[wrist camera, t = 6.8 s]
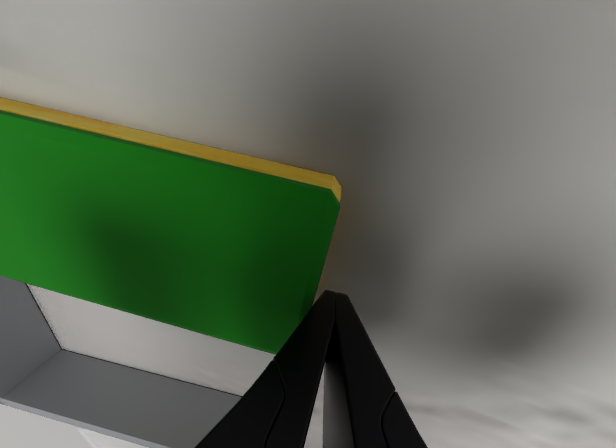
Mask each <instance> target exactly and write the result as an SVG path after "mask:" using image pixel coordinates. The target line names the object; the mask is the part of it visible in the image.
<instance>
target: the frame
mask: <svg viewBox="0 0 616 448" xmlns="http://www.w3.org/2000/svg"><path fill="white" fill-rule="evenodd" d="M241 398H242V397H239V396H235V395H232V394H228V393H224V392H220V391H217V390H213V389H209V388H205V387H201V386H198V385H194V384H190V383H186V382H182V381H179V380H175V379H171V378H167V377H163V376H160V375H156V374H152V373H148V372H144V371H141V370H137V369H133V368H129V367H125V366H122V365H118V364H114V363H110V362H106V361H103V360H99V359H95V358H91V357H88V356H84V355H80V354H76V353H72V352H69V351H65V350H61V348H60V346H59V344H58V343H57V341H56V339H55V337H54V335H53V334H52V332H51V330H50V328H49V326H48V324H47V323H46V321H45V319H44V317H43V315H42V313H41V312H40V310H39V308H38V306H37V304H36V303H35V301H34V299H33V297H32V295H31V293H30V292H29V290H28V288H27V286H26V284H25V283H23V282H20V281H16V280H13V279H9V278H6V277H2V276H0V404H3V405H7V406H10V407H13V408H17V409H20V410H23V411H27V412H30V413H34V414H37V415H41V416H44V417H47V418H51V419H54V420H57V421H61V422H65V423H68V424H71V425H74V426H78V427H81V428H85V429H88V430H91V431H95V432H98V433H102V434H105V435H108V436H112V437H115V438H119V439H122V440H125V441H129V442H132V443H136V444H139V445H142V446H146V447H149V448H194V447H195V446H196V445H197V444H198V443H199V442H200V441H201V440H202V439H203V438H204V437H205V436H206V435H207V434H208V433H209V432H210V431H211V429H212V428H213V427H214V426H215V425H216V424H217V423H218V422H219V421H220V420H221V419H222V418H223V417H224V416H225V415H226V414H227V413H228V412H229V411H230V410H231V408H232V407H233V406H234V405H235V404H236V403H237V402H238V401H239V400H240V399H241Z"/></svg>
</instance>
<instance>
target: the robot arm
mask: <svg viewBox="0 0 616 448" xmlns="http://www.w3.org/2000/svg"><path fill="white" fill-rule="evenodd" d="M323 367H324V407H323V448H428V447H427V446H426V444H425V442H424V441H423V439H422V437H421V436H420V434H419V432H418V430H417V429H416V427H415V425H414V423H413V421H412V419H411V418H410V416H409V414H408V412H407V410H406V408H405V406H404V404H403V402H402V401H401V399H400V397H399V395H398V393H397V392H395V387H394V385H393V383H392V381H391V379H390V377H389V375H388V373H387V371H386V369H385V368H384V366H383V364H382V362H381V360H380V358H379V356H378V354H377V352H376V350H375V348H374V346H373V344H372V342H371V340H370V338H369V336H368V334H367V332H366V330H365V329H364V327H363V325H362V323H361V321H360V319H359V317H358V315H357V313H356V311H355V309H354V307H353V305H352V303H351V301H350V299H349V297H348V296H347V295H346V294H342V293H335V292H333V291H329V290H325V291H324V292H323V293H322V294H321V296H320V297H319V298H318V300H317V301H316V302H315V304H314V305H313V306H312V308H311V309H310V310H309V312H308V313H307V314H306V316H305V317H304V318H303V320H302V321H301V322H300V324H299V325H298V326H297V328H296V329H295V330H294V332H293V333H292V334H291V336H290V337H289V338H288V340H287V341H286V342H285V344H284V345H283V346H282V348H281V349H280V350H279V352H278V353H277V354H276V356H275V357H274V359H273V360H272V361H271V362H270V363H269V365H268V366H267V367H266V369H265V370H264V371H263V373H262V374H261V375H260V376H259V378H258V379H257V380H256V381H255V383H254V384H253V385H252V386H251V388H250V389H249V390H248V391H247V392H246V393H245V394H244V395H243V396H242V398H241V399H240V400H239V401H238V402H237V403H236V404H235V405H234V406H233V407H232V408H231V410H230V411H229V412H228V413H227V414H226V415H225V416H224V417H223V418H222V419H221V420H220V421H219V422H218V423H217V424H216V425H215V426H214V427H213V428H212V429H211V431H210V432H209V433H208V434H207V435H206V436H205V437H204V438H203V439H202V440H201V441H200V442H199V443H198V444H197V445H196V446H195V447H194V448H304V444H305V440H306V436H307V432H308V428H309V424H310V420H311V416H312V412H313V408H314V404H315V400H316V396H317V392H318V388H319V384H320V379H321V375H322V371H323Z"/></svg>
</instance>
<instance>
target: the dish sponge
mask: <svg viewBox="0 0 616 448" xmlns="http://www.w3.org/2000/svg"><path fill="white" fill-rule="evenodd" d="M341 189H342V188H341V186H340V184H339V183H338V181H337V180H336V178H335V176H333V175H328V174H324V173H320V172H316V171H311V170H307V169H303V168H298V167H294V166H290V165H286V164H281V163H277V162H273V161H269V160H264V159H260V158H256V157H252V156H247V155H243V154H239V153H235V152H230V151H226V150H222V149H218V148H213V147H209V146H205V145H201V144H196V143H192V142H188V141H184V140H179V139H175V138H171V137H167V136H162V135H158V134H154V133H150V132H145V131H141V130H137V129H133V128H128V127H124V126H120V125H116V124H111V123H107V122H103V121H99V120H94V119H90V118H86V117H82V116H77V115H73V114H69V113H65V112H60V111H56V110H52V109H48V108H43V107H39V106H35V105H30V104H26V103H22V102H18V101H13V100H9V99H5V98H1V97H0V276H2V277H6V278H9V279H13V280H16V281H20V282H23V283H27V284H30V285H34V286H37V287H41V288H44V289H48V290H51V291H55V292H58V293H62V294H65V295H69V296H72V297H76V298H79V299H83V300H86V301H90V302H93V303H97V304H100V305H104V306H107V307H111V308H114V309H118V310H121V311H125V312H128V313H132V314H135V315H139V316H142V317H146V318H149V319H153V320H156V321H160V322H163V323H167V324H170V325H174V326H177V327H181V328H184V329H188V330H191V331H195V332H198V333H202V334H205V335H209V336H212V337H216V338H219V339H223V340H226V341H230V342H233V343H237V344H240V345H244V346H247V347H251V348H254V349H258V350H261V351H265V352H268V353H272V354H275V355H276V354H277V353H278V352H279V350H280V349H281V348H282V346H283V345H284V344H285V342H286V341H287V340H288V338H289V337H290V336H291V334H292V333H293V332H294V330H295V329H296V328H297V326H298V325H299V324H300V322H301V321H302V320H303V318H304V317H305V316H306V314H307V313H308V312H309V310H310V309H311V308H312V305H313V301H314V298H315V294H316V291H317V287H318V283H319V280H320V276H321V273H322V269H323V266H324V262H325V258H326V255H327V251H328V248H329V244H330V241H331V237H332V233H333V230H334V226H335V223H336V219H337V216H338V212H339V208H340V199H341Z"/></svg>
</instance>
